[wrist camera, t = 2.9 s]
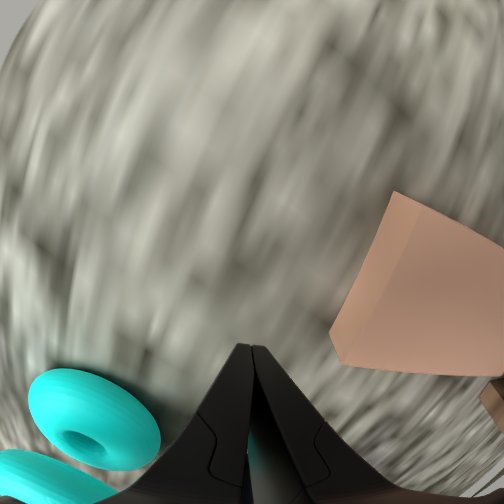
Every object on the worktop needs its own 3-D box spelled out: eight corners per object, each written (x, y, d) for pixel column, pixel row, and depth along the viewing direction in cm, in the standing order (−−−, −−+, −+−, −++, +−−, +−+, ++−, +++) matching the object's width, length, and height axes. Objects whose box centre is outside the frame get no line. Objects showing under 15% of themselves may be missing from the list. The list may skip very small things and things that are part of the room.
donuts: (-42, 464, 7) (50, 500, 7) (16, 367, 17) (112, 347, 16) (63, 538, 11) (177, 561, 10) (90, 447, 20) (187, 442, 19)
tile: (326, 327, 16) (341, 364, 13) (389, 188, 13) (422, 204, 11) (481, 353, 19) (500, 376, 16) (531, 265, 16) (556, 283, 13)
